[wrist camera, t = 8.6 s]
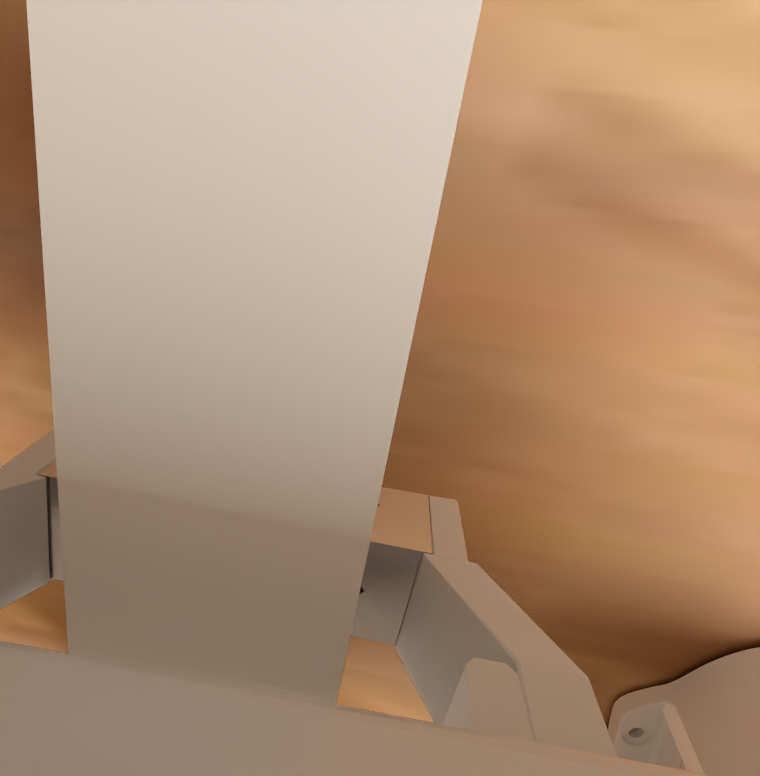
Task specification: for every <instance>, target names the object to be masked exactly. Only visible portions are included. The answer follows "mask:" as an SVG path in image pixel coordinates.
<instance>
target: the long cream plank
mask: <svg viewBox="0 0 760 776" xmlns="http://www.w3.org/2000/svg"><path fill="white" fill-rule="evenodd" d="M482 1H483V0H26V3H27V19H28V34H29V50H30V65H31V81H32V96H33V112H34V127H35V143H36V158H37V174H38V189H39V205H40V220H41V236H42V251H43V267H44V282H45V298H46V313H47V329H48V344H49V360H50V375H51V391H52V406H53V422H54V437H55V453H56V468H57V484H58V499H59V515H60V530H61V546H62V561H63V577H64V592H65V608H66V623H67V639H68V654H73V655H78V656H83V657H89V658H94V659H99V660H105V661H110V662H115V663H121V664H126V665H131V666H137V667H142V668H147V669H153V670H158V671H163V672H169V673H174V674H179V675H185V676H190V677H195V678H201V679H206V680H211V681H217V682H222V683H227V684H233V685H238V686H243V687H248V688H253V689H259V690H264V691H269V692H274V693H280V694H285V695H290V696H295V697H301V698H306V699H311V700H316V701H322V702H327V703H332V704H337V699H338V694H339V689H340V684H341V679H342V675H343V670H344V665H345V660H346V655H347V651H348V646H349V641H350V636H351V631H352V627H353V622H354V617H355V612H356V607H357V602H358V598H359V593H360V588H361V583H362V578H363V574H364V569H365V564H366V559H367V554H368V550H369V545H370V540H371V535H372V530H373V525H374V521H375V516H376V511H377V506H378V501H379V497H380V492H381V487H382V482H383V477H384V473H385V468H386V463H387V458H388V453H389V448H390V444H391V439H392V434H393V429H394V424H395V420H396V415H397V410H398V405H399V400H400V395H401V391H402V386H403V381H404V376H405V371H406V367H407V362H408V357H409V352H410V347H411V343H412V338H413V333H414V328H415V323H416V318H417V314H418V309H419V304H420V299H421V294H422V290H423V285H424V280H425V275H426V270H427V266H428V261H429V256H430V251H431V246H432V241H433V237H434V232H435V227H436V222H437V217H438V213H439V208H440V203H441V198H442V193H443V188H444V184H445V179H446V174H447V169H448V164H449V160H450V155H451V150H452V145H453V140H454V136H455V131H456V126H457V121H458V116H459V111H460V107H461V102H462V97H463V92H464V87H465V83H466V78H467V73H468V68H469V63H470V59H471V54H472V49H473V44H474V39H475V34H476V30H477V25H478V20H479V15H480V10H481V6H482Z"/></svg>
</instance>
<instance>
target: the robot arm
mask: <svg viewBox="0 0 760 776" xmlns="http://www.w3.org/2000/svg"><path fill="white" fill-rule="evenodd" d="M50 579H54V580H60V581H64V577H63V561H62V546H61V530H60V515H59V499H58V484H57V468H56V453H55V437H54V430H52V431H51V432H49V433H48V434H47V435H45V436H44V437H42V438H41V439H40V440H38V441H37V442H35V443H34V444H33V445H31V446H30V447H28V448H27V449H26V450H24V451H23V452H21V453H20V454H19V455H17V456H16V457H14V458H13V459H12V460H10V461H9V462H7V463H6V464H5V465H3V466H2V467H0V609H2V608H3V607H5V606H7V605H9V604H11V603H12V602H14V601H16V600H18V599H20V598H21V597H23V596H25V595H27V594H29V593H31V592H32V591H34V590H36V589H38V588H40V587H41V586H43V585H45V584H47V583H49V582H50ZM351 636H354V637H358V638H363V639H367V640H372V641H376V642H381V643H385V644H390V645H394V646H396V647H395V649H396V651H397V653H398V655H399V657H400V659H401V660H402V662H403V664H404V666H405V668H406V670H407V672H408V674H409V676H410V678H411V679H412V681H413V683H414V685H415V687H416V689H417V691H418V693H419V695H420V697H421V698H422V700H423V702H424V704H425V706H426V708H427V710H428V712H429V714H430V716H431V717H432V719H433V721H434V723H432V722H426V721H421V720H416V719H411V718H406V717H400V716H395V715H390V714H385V713H379V712H374V711H369V710H364V709H358V708H353V707H348V706H343V705H337V704H332V703H327V702H322V701H316V700H311V699H306V698H301V697H295V696H290V695H285V694H280V693H274V692H269V691H264V690H259V689H253V688H248V687H243V686H238V685H233V684H227V683H222V682H217V681H211V680H206V679H201V678H195V677H190V676H185V675H179V674H174V673H169V672H163V671H158V670H153V669H147V668H142V667H137V666H131V665H126V664H121V663H115V662H110V661H105V660H99V659H94V658H89V657H83V656H78V655H73V654H67V653H62V652H57V651H51V650H46V649H41V648H35V647H30V646H25V645H19V644H14V643H9V642H3V641H0V776H760V647H757V648H753V649H748V650H744V651H740V652H737V653H733V654H730V655H727V656H724V657H722V658H719V659H717V660H714V661H712V662H710V663H707V664H705V665H703V666H701V667H699V668H698V669H696V670H694V671H692V672H690V673H688V674H687V675H685V676H683V677H681V678H679V679H677V680H675V681H673V682H670V683H668V684H664V685H659V686H654V687H650V688H646V689H641V690H638V691H634V692H631V693H628V694H626V695H623V696H622V697H620V698H619V699H618V700H617V701H616V702H615V703H614V705H613V708H612V712H611V717H610V721H609V726H608V730H607V727H606V724H605V721H604V719H603V716H602V713H601V710H600V708H599V705H598V702H597V699H596V697H595V694H594V691H593V688H592V686H591V683H590V680H589V678H588V677H587V675H586V674H585V673H584V672H583V671H582V670H581V669H580V668H579V667H578V666H577V665H576V664H575V663H574V662H573V661H572V660H571V659H570V658H569V657H568V656H567V655H566V654H565V653H564V652H563V651H562V650H561V649H560V648H559V647H558V646H557V645H556V644H555V643H554V642H553V641H552V640H551V639H550V638H549V637H548V636H547V635H546V634H545V633H544V632H543V631H542V630H541V628H540V627H539V626H538V625H537V624H536V623H535V622H534V621H533V620H532V619H531V618H530V617H529V616H528V615H527V614H526V613H525V612H524V611H523V610H522V609H521V608H520V607H519V606H518V605H517V604H516V603H515V602H514V601H513V600H512V599H511V598H510V597H509V596H508V595H507V594H506V593H505V592H504V591H503V590H502V589H501V588H500V587H499V586H498V585H497V584H496V583H495V582H494V580H493V579H492V578H491V577H490V576H489V575H488V574H487V573H486V572H485V571H484V570H483V569H482V568H481V567H480V566H479V565H478V564H477V563H472V562H468V557H467V551H466V545H465V539H464V533H463V527H462V522H461V516H460V510H459V504H458V502H457V501H456V500H455V499H450V498H444V497H437V496H431V495H425V494H420V493H414V492H408V491H403V490H397V489H392V488H386V487H381V492H380V497H379V501H378V506H377V511H376V516H375V521H374V525H373V530H372V535H371V540H370V545H369V550H368V554H367V559H366V564H365V569H364V574H363V578H362V583H361V588H360V593H359V598H358V602H357V607H356V612H355V617H354V622H353V627H352V631H351Z"/></svg>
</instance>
